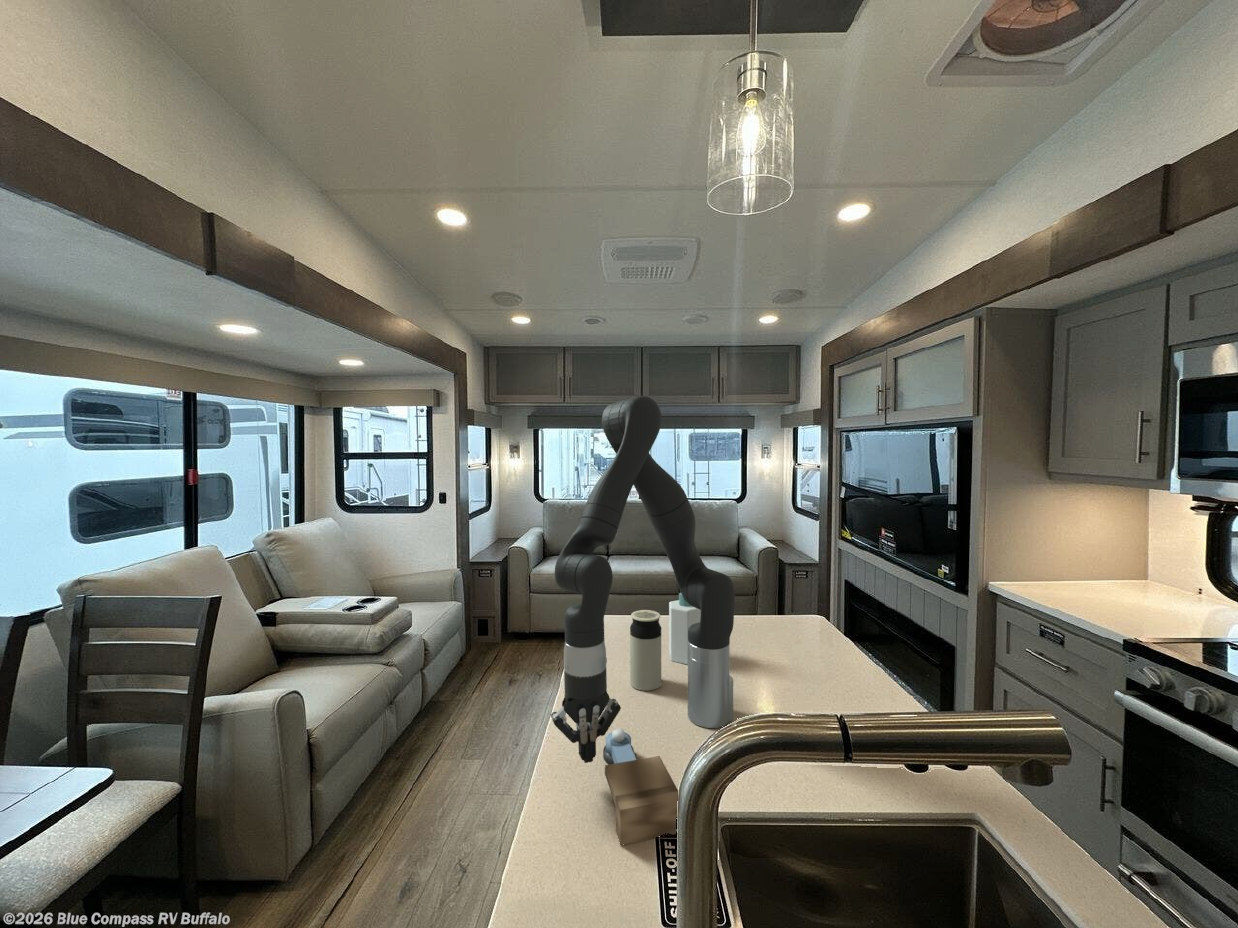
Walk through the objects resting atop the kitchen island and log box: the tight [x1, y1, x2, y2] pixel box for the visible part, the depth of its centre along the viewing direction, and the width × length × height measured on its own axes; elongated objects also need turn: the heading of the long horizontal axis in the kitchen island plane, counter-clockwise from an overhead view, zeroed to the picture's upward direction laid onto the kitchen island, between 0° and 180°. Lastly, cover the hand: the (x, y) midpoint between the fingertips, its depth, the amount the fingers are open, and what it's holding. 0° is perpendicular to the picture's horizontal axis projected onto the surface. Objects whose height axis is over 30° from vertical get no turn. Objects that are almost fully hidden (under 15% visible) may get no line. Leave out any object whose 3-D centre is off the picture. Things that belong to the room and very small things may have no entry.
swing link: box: [605, 728, 637, 764], centre depth 88 cm, size 16×5×3 cm, turn 13°
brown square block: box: [604, 755, 679, 846], centre depth 78 cm, size 10×10×6 cm
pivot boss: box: [602, 744, 635, 765], centre depth 93 cm, size 6×6×1 cm
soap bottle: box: [668, 592, 701, 666], centre depth 137 cm, size 10×9×22 cm
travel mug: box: [629, 609, 662, 692], centre depth 121 cm, size 8×8×18 cm
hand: (587, 759), depth 85 cm, fingers closed
